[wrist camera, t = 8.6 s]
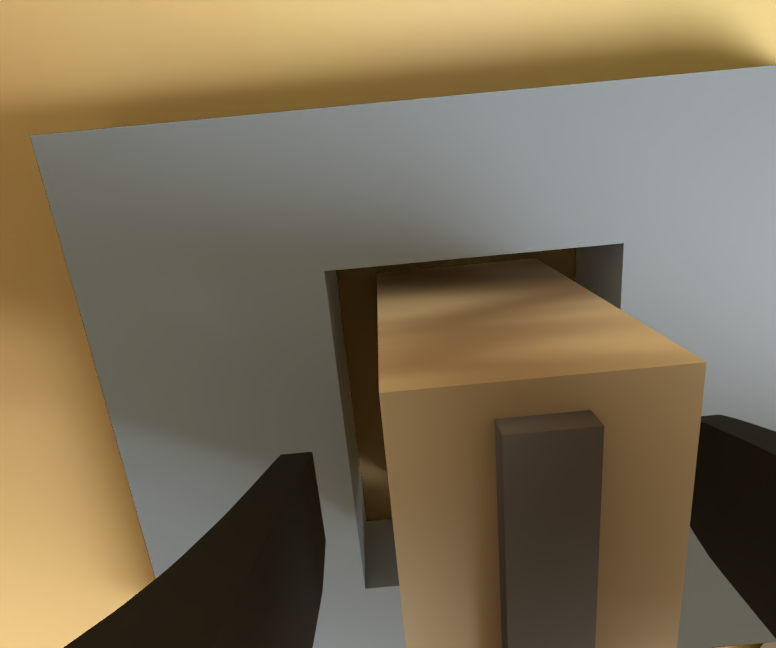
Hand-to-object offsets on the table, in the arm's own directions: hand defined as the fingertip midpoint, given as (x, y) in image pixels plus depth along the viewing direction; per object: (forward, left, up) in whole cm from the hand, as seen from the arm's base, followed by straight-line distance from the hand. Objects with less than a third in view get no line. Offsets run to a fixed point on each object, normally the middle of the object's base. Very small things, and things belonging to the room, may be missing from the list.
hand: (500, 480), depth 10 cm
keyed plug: (0, 0, -4) cm, 4 cm away
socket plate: (0, 0, -4) cm, 4 cm away
